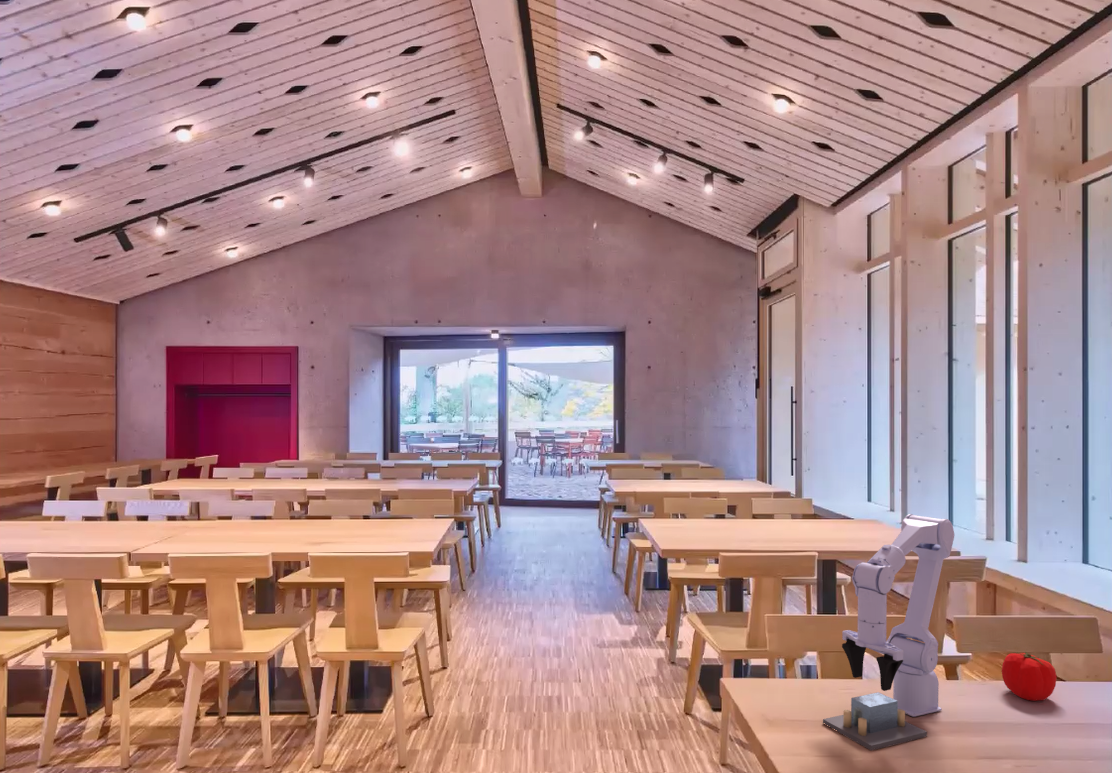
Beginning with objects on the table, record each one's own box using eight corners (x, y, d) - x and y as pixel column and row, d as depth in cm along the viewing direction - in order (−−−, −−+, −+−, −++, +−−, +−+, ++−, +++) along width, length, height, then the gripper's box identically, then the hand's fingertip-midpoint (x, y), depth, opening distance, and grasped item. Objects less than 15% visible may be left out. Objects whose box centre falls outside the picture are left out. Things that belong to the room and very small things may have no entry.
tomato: (1004, 700, 172) (1004, 657, 172) (999, 682, 184) (999, 641, 184) (1061, 711, 167) (1061, 665, 167) (1052, 691, 178) (1053, 649, 179)
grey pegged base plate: (876, 711, 165) (876, 694, 165) (927, 736, 153) (927, 717, 153) (822, 723, 158) (823, 705, 158) (871, 750, 146) (871, 730, 146)
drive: (878, 717, 159) (878, 692, 160) (897, 727, 155) (897, 701, 155) (851, 723, 156) (851, 697, 156) (869, 733, 152) (870, 707, 152)
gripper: (832, 612, 162) (831, 673, 162) (886, 632, 149) (886, 698, 149) (855, 609, 165) (855, 669, 165) (910, 628, 152) (910, 693, 152)
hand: (871, 683), depth 157 cm, fingers open, 7 cm apart
